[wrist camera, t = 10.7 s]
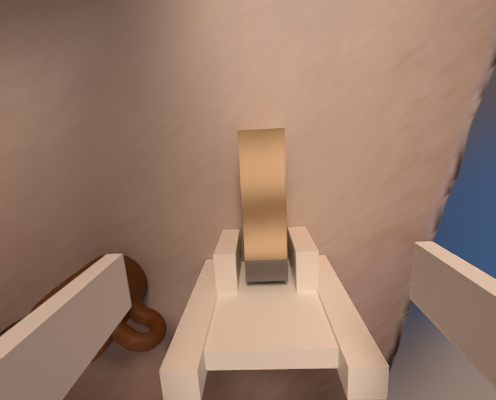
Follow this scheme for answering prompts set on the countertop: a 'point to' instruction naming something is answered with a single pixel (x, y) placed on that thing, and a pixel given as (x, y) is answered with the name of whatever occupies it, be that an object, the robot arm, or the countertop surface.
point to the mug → (136, 312)
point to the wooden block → (263, 203)
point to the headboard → (271, 324)
